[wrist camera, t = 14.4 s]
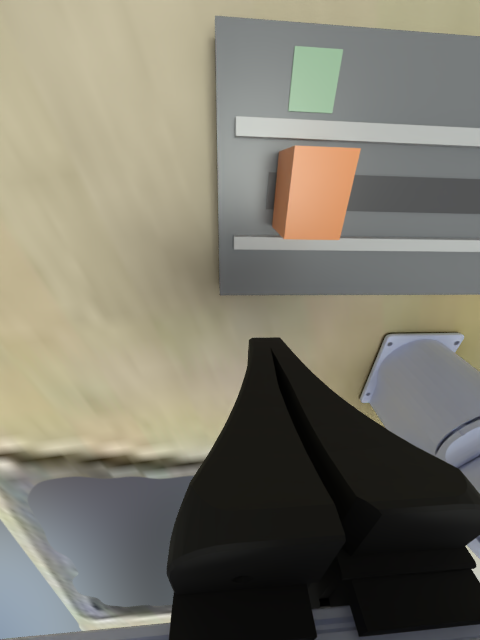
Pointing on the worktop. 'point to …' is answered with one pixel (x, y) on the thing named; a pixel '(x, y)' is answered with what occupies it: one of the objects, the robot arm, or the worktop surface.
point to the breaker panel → (373, 164)
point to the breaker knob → (313, 191)
